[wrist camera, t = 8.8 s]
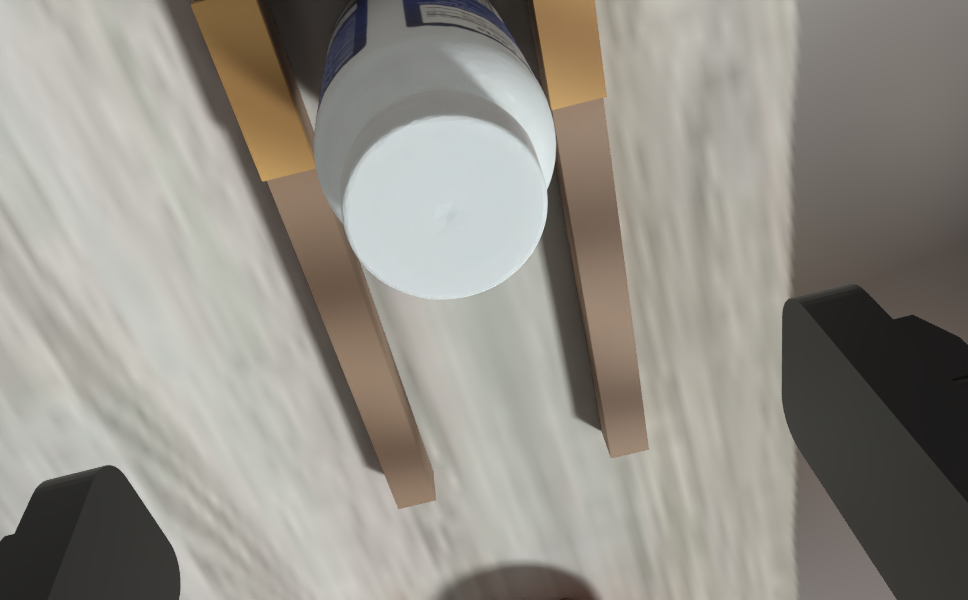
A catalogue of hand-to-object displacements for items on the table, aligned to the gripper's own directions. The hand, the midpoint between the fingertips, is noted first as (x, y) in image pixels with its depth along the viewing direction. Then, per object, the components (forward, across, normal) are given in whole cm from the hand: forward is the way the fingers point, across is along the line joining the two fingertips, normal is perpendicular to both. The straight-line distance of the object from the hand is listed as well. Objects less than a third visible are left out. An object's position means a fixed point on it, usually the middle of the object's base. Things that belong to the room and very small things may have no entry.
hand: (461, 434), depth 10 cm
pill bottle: (+16, 0, 0) cm, 16 cm away
